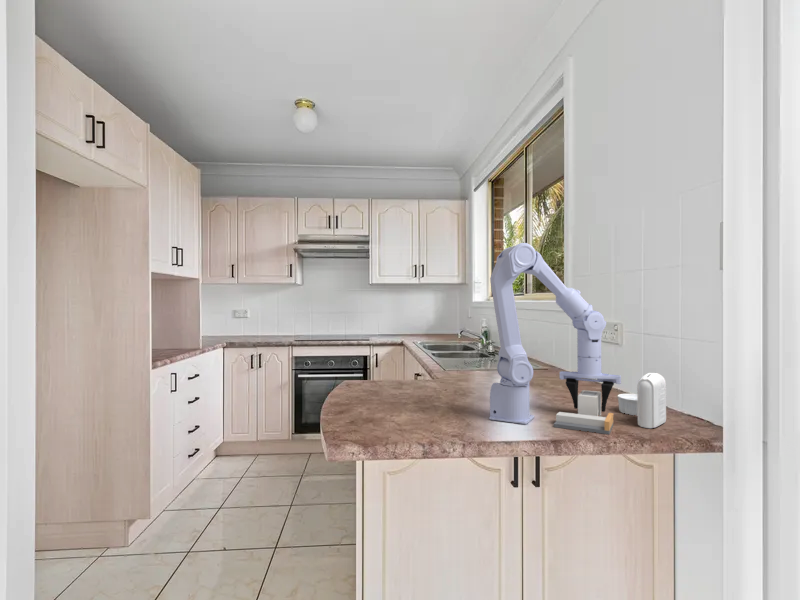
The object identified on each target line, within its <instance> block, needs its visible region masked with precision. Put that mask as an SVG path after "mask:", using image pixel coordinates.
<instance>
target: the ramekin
mask: <svg viewBox="0 0 800 600" xmlns="http://www.w3.org/2000/svg"><path fill="white" fill-rule="evenodd" d="M616 398H617V399H618V410H619V412H620V413H622V414H624V413H625V415H628V414H629V415H628V416H634V415H636V417H638V415H637V393H619V394H618V395H617V396H616Z"/></svg>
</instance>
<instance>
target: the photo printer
mask: <svg viewBox="0 0 800 600" xmlns="http://www.w3.org/2000/svg"><path fill="white" fill-rule="evenodd" d="M636 388H637V389H636V391H637V393H636V394H637V415H638V416H637V425H638V426H639V427H641V428H643V429H644V428H646V429H653V428H654V429H655V428H657V427H659V426H661V425H664V424H665V423H666V421H667V381H666V378H665V377H664V375H661V374H660V373H657V372H647V373H646V374H643V375H642V376H641V377H640V379H639V380H638V381H637V387H636Z"/></svg>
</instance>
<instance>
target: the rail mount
mask: <svg viewBox="0 0 800 600" xmlns="http://www.w3.org/2000/svg"><path fill="white" fill-rule="evenodd" d="M553 427H554V428H557V429H564V430H565V429H566V430H572V431H579V430H581V432H587V431H589V432H588V433H594V432H596V433H595V434H602V435H611V432H612V430H613V427H614V412H613V413H612V412H608V413H607V415H606V416H591V415H582V414H578V413H573V412H563V411H559V412H557V413H556V414H555V422H554V423H553Z"/></svg>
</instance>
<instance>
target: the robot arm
mask: <svg viewBox="0 0 800 600" xmlns="http://www.w3.org/2000/svg"><path fill="white" fill-rule="evenodd" d="M522 273H523V274H527V275H532V276H535V278H537V280H539V281H540V282H541V283H542V284H543V285H544V286H545V287H546V288H547V289H548V290H549V291H550V292H551V293H552V294H554V295H553V296H555V303H556V305H557V306H559V308H560V309H561V310H562V311H563V312H564V313H565V314H566V315H567V316H568V317H569V318H570V320H572V322H571V323H572V326H573V328H574V329H576V331H577V332H576V334H577V338H576V339H577V341H576V342H577V344H576V345H577V346H576V347H577V371H564V370H563V371H562V370H561V371H559V374H558V375H559V380H562V381H563V380H565V386H566V388H567V389H568V391H569V393H570V397H571V399H572V402H573V403H572V404H573V407H574V408H573V409H576V410H578V395H579V381H582V382H583V381H585V382H596V383H601V385H600V387H601V413H602V412H603V413H605V412H606V407H607V402H608V399H609V396H610V394H611V392H612V389H613V387H614V385H615V384H617V385H621V384H622V375H621V374H619V375H618V374H609V373H602V338H603V331H604V330H605V328H606V326H607V320H605V317H604V315H603V314H602V313H601V312H600V311H598V310H594V309H593V308H594V306H593V305H592V304H591V303H588V301H586V300H585V299H584V297H582V295H581V294H582V292H581V291H580V290H579V289H576V288H574V287H567V286H566V285H565V284H564V283H563V281H562V280H561V278H559V276H557V274H556V273H555V272H554V270H553V269H552V268H551V267H550V266H549V264H548V263H547V262H546V261H545V260H544V258H543V256H542V255H541V253H539V251H537V250H536V249H535V248H534V246H533V245H531V244H529V243H527V242H520V243H517V244H516V245H513V246H509V247H506V248H505V249H503V250H502V251H501V252H500V253H499V254H498V255H497V257H496V262H495V265H494V267H493V270H492V272H491V275H490V278H489V281H490V286H491V287H490V289H491V294H492V295H491V296H492V300H493V306H494V307H493V308H494V313H495V319H496V324H497V325H496V326H497V332H498V338H499V345H500V348H499V351H498V353H497V354H498V362H497V366H496V370H497V373H498V376H500V377H501V378H500V381H499V382H493V383H492V384H491V387H490V391H489V420H493V421H498V422H500V421H501V422H507V423H514V424H523V425H528V423H530V422H531V421H532V420H534V419H535V415H533V414H530V409H531V407H530V403H531V402H530V401H531V400H530V398H531V397H530V395H531V394H530V382H531V381H532V379H533V377H534V368H533V366H532V364H531V362H530V361H529V359H528V354H527V351H526V350H525V348H524V347H523V344H522V339H521V338H522V336H521V332H520V323H519V318H518V313H517V306H516V301H515V293H514V289H513V287H514V286H513V283H514V282H515V281H516V279H517V278H518V277H519V276H520V275H521V274H522Z"/></svg>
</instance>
